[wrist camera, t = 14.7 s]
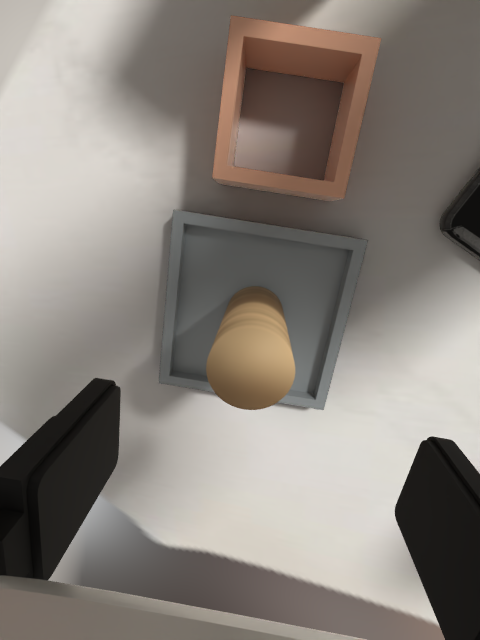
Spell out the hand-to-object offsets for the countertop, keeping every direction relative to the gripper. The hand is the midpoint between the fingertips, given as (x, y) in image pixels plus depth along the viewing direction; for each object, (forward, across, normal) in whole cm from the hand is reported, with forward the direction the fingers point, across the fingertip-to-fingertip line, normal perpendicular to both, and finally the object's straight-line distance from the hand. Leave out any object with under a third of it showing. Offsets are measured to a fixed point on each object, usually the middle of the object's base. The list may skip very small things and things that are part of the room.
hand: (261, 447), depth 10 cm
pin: (+16, +1, +1) cm, 16 cm away
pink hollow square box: (+17, +1, -12) cm, 21 cm away
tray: (+17, +1, +1) cm, 17 cm away
